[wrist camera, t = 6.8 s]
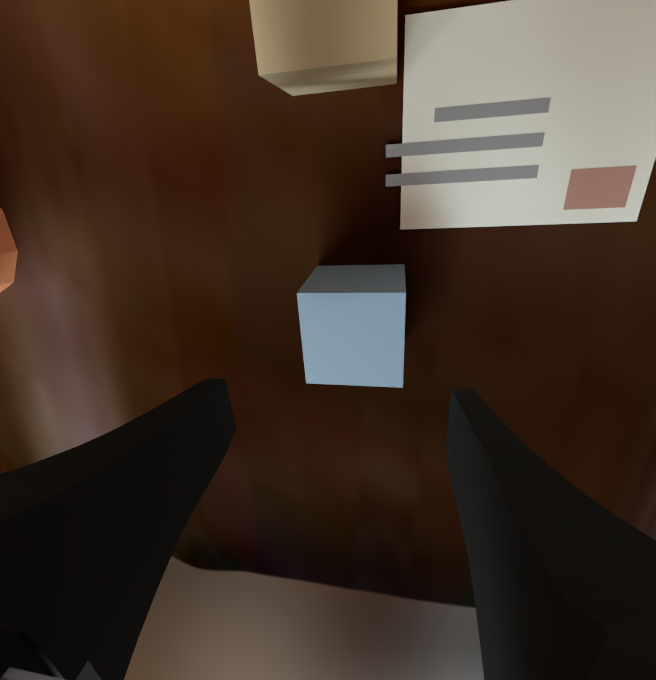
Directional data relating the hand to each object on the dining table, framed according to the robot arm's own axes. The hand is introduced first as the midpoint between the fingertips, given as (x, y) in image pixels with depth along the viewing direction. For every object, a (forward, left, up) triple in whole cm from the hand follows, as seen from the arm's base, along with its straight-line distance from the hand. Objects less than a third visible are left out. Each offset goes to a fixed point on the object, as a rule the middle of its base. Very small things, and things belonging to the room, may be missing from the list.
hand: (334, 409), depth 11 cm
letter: (-7, -8, -9) cm, 14 cm away
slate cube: (0, 0, -9) cm, 9 cm away
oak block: (0, -12, -9) cm, 15 cm away
